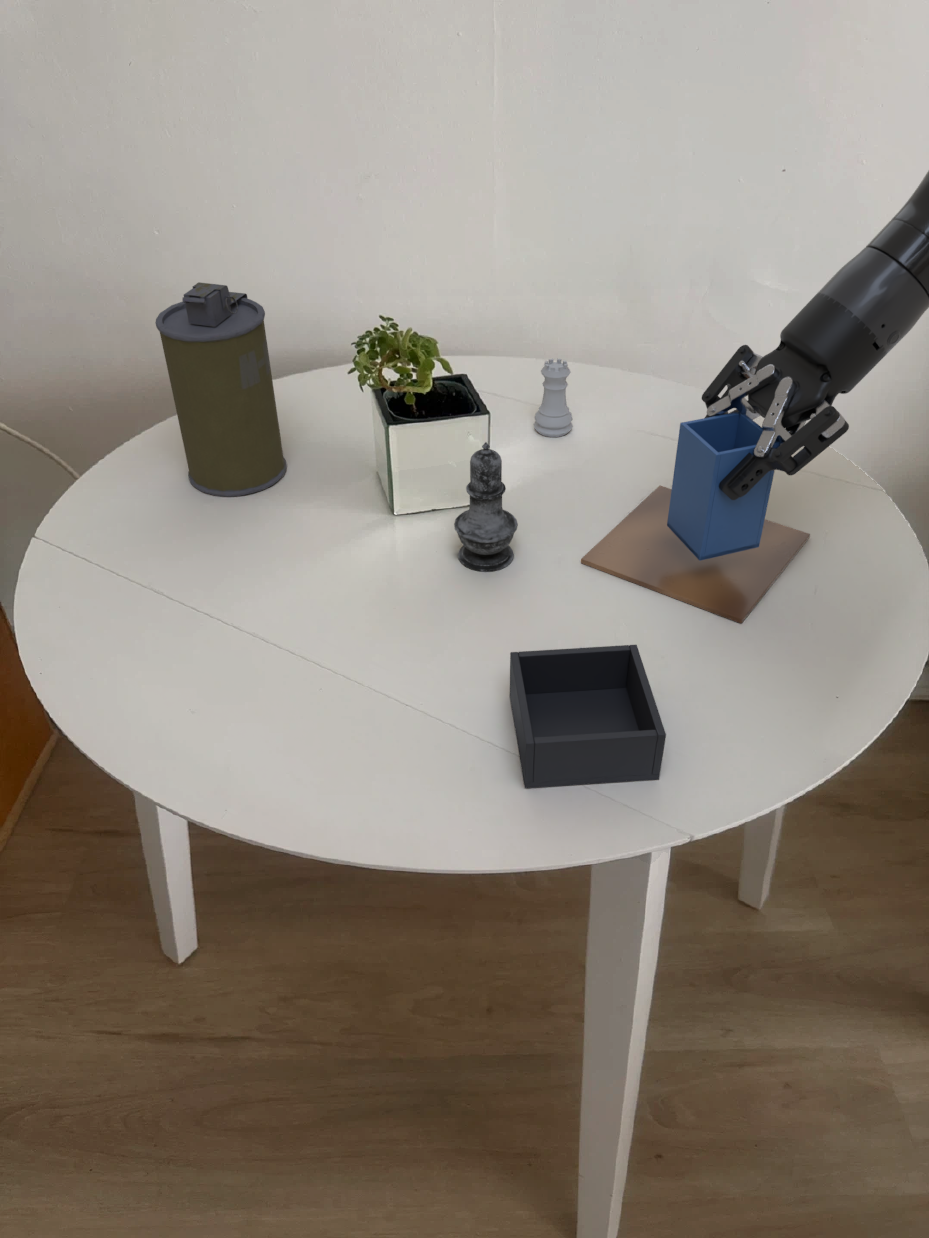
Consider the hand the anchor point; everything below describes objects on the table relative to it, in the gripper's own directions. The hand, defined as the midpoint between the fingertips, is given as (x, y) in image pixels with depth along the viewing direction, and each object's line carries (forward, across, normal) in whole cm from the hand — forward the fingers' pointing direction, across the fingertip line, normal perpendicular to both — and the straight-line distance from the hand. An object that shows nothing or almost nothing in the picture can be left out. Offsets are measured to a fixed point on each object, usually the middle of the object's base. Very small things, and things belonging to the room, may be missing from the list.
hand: (706, 474), depth 85 cm
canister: (+33, -33, -18) cm, 50 cm away
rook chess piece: (+8, -30, +7) cm, 32 cm away
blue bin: (+4, 0, +6) cm, 7 cm away
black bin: (+20, +16, -6) cm, 26 cm away
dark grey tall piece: (+19, -9, -5) cm, 22 cm away
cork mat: (+6, -3, +9) cm, 11 cm away
